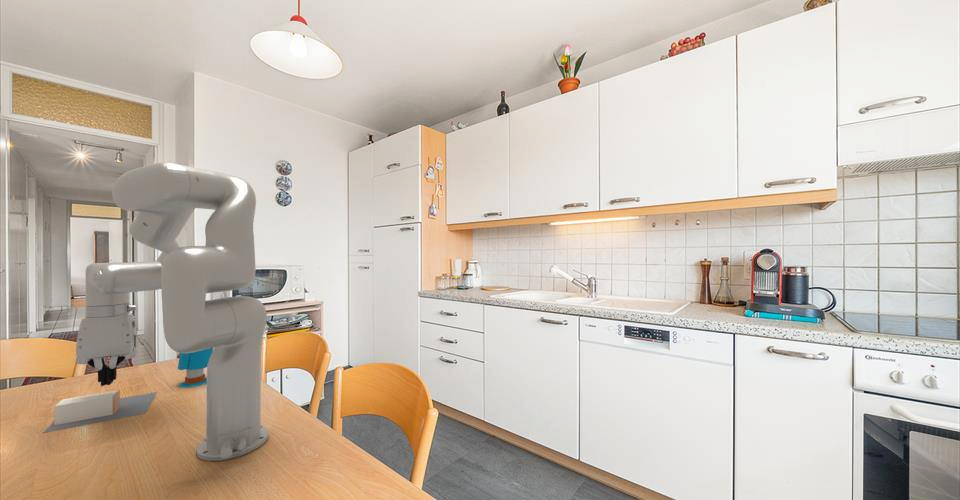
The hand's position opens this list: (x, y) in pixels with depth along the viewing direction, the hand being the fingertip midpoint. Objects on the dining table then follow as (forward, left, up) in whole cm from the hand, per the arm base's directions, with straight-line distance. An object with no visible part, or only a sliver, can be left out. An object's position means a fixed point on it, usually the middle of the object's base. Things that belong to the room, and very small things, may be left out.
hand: (107, 383), depth 89 cm
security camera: (+13, -17, -8) cm, 22 cm away
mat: (+2, 0, -8) cm, 8 cm away
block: (0, -2, -5) cm, 5 cm away
